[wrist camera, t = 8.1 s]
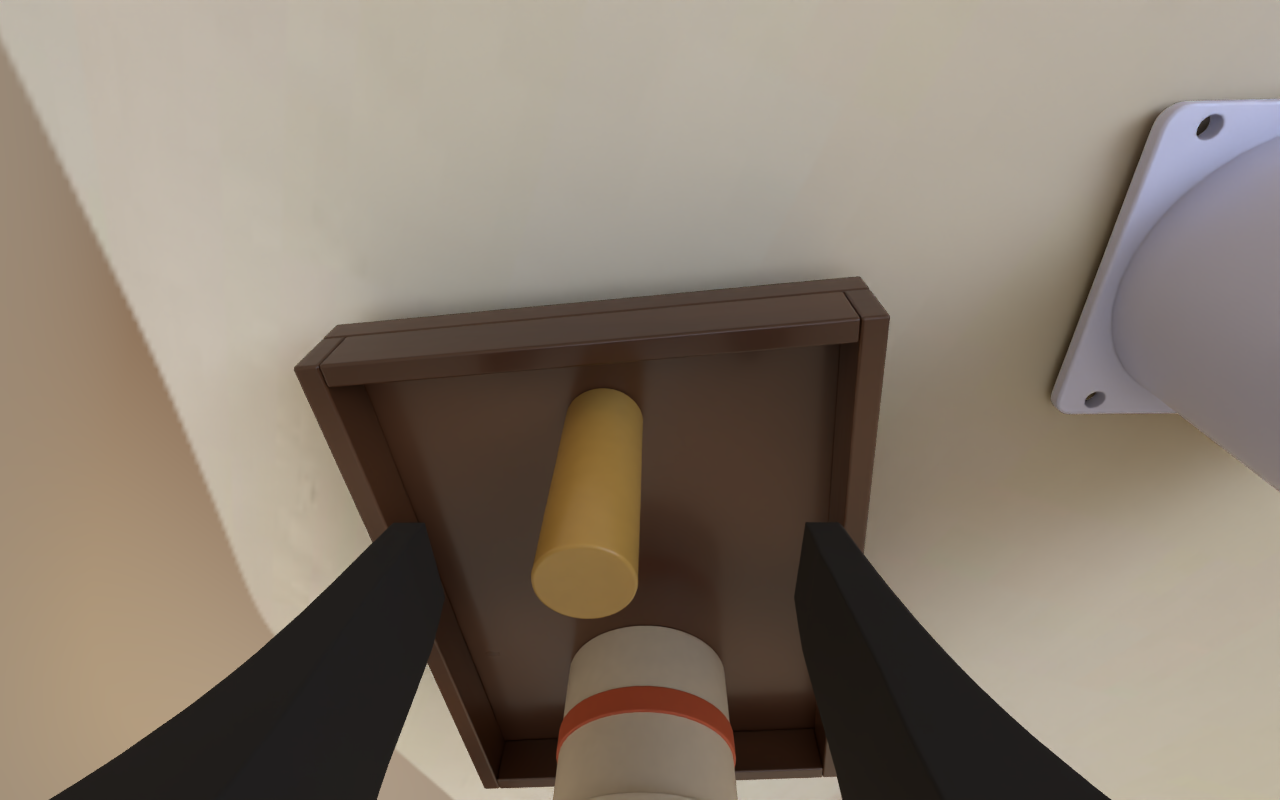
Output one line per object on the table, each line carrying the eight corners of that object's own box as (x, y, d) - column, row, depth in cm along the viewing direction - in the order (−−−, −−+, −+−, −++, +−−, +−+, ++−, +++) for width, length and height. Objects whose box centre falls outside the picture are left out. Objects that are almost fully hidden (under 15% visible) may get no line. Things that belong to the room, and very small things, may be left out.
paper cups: (736, 722, 23) (758, 913, 18) (575, 729, 24) (554, 917, 19) (731, 612, 20) (756, 808, 15) (544, 622, 21) (509, 816, 16)
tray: (824, 715, 24) (872, 915, 19) (497, 729, 25) (454, 922, 20) (860, 275, 15) (976, 423, 10) (336, 324, 16) (173, 483, 10)
